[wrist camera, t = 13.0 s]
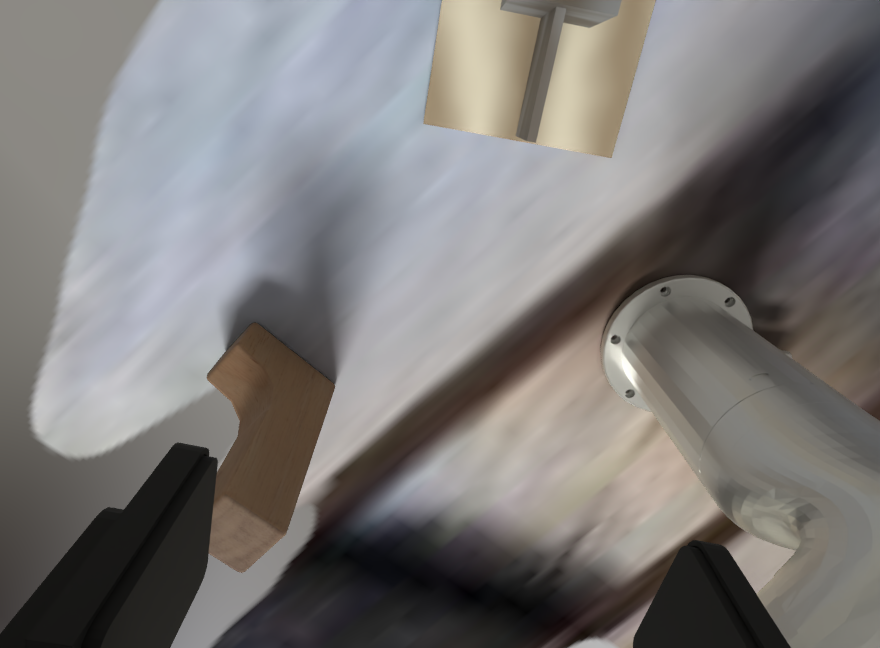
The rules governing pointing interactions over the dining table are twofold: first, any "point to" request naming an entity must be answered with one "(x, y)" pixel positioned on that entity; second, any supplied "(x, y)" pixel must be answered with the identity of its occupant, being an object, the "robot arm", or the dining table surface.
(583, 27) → the hinge base
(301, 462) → the wooden block
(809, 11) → the dining table surface
